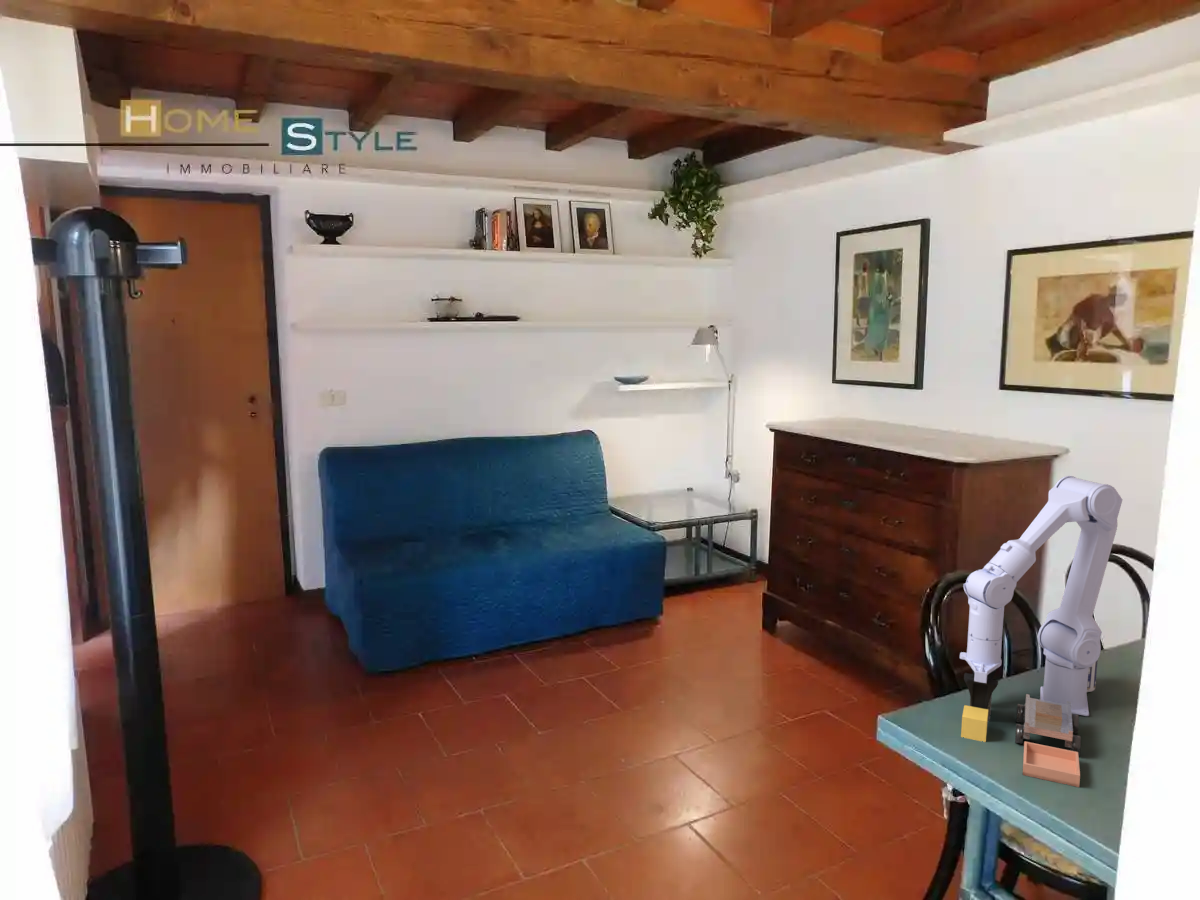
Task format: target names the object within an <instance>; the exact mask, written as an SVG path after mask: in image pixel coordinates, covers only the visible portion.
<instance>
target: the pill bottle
mask: <svg viewBox="0 0 1200 900" xmlns="http://www.w3.org/2000/svg"><path fill="white" fill-rule="evenodd" d="M1098 660H1099V658H1098V659H1097V661H1096V662H1095V663H1094V664H1093V665H1092V667H1089V671H1088V683H1087V693H1089V692H1094V691H1095V690H1096V687H1097V685H1096V684H1097V673H1098Z"/></svg>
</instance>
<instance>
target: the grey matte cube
mask: <svg viewBox="0 0 1200 900" xmlns="http://www.w3.org/2000/svg"><path fill="white" fill-rule="evenodd" d="M992 698H993V694H992V695H991V697H990V700H989V704H988V708H987V709H988V722H989V721H991V716H990V715H991V714H992V703H993V702H992V701H993V699H992ZM969 706H971V699H970V698H969Z"/></svg>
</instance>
